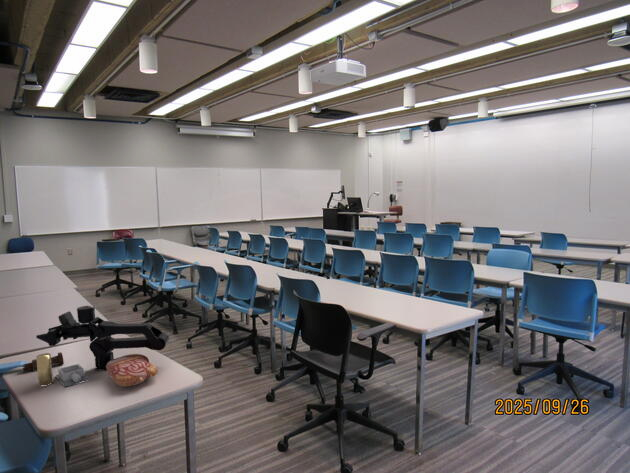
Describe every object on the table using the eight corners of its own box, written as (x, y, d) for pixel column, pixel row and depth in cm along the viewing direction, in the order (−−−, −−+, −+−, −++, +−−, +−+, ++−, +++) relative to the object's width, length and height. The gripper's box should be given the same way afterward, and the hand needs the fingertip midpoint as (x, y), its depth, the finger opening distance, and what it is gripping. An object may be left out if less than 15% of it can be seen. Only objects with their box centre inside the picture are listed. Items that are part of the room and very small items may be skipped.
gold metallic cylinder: (55, 381, 175) (52, 353, 174) (48, 386, 170) (45, 357, 169) (43, 381, 175) (40, 353, 173) (36, 386, 170) (33, 357, 169)
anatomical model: (117, 378, 160) (100, 355, 183) (118, 397, 160) (101, 371, 184) (163, 366, 170) (141, 345, 194) (163, 384, 171) (142, 361, 194)
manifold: (79, 369, 186) (78, 361, 185) (89, 380, 175) (89, 371, 175) (55, 376, 179) (55, 368, 179) (65, 387, 169) (64, 378, 169)
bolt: (23, 375, 185) (63, 365, 194) (23, 373, 182) (64, 363, 190) (21, 362, 187) (61, 353, 196) (21, 360, 183) (61, 350, 192)
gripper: (88, 306, 194) (52, 309, 193) (66, 318, 175) (27, 321, 174) (90, 330, 195) (55, 333, 194) (69, 345, 176) (30, 347, 175)
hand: (42, 333), depth 184 cm, fingers open, 9 cm apart
